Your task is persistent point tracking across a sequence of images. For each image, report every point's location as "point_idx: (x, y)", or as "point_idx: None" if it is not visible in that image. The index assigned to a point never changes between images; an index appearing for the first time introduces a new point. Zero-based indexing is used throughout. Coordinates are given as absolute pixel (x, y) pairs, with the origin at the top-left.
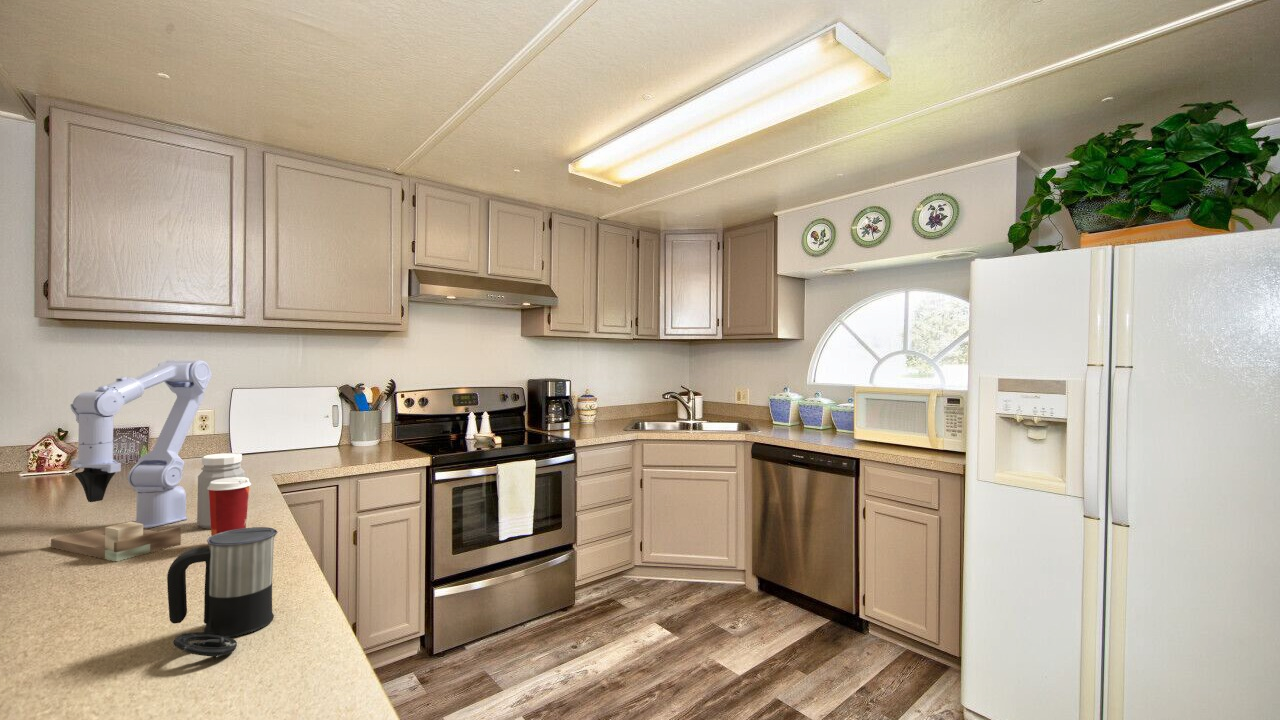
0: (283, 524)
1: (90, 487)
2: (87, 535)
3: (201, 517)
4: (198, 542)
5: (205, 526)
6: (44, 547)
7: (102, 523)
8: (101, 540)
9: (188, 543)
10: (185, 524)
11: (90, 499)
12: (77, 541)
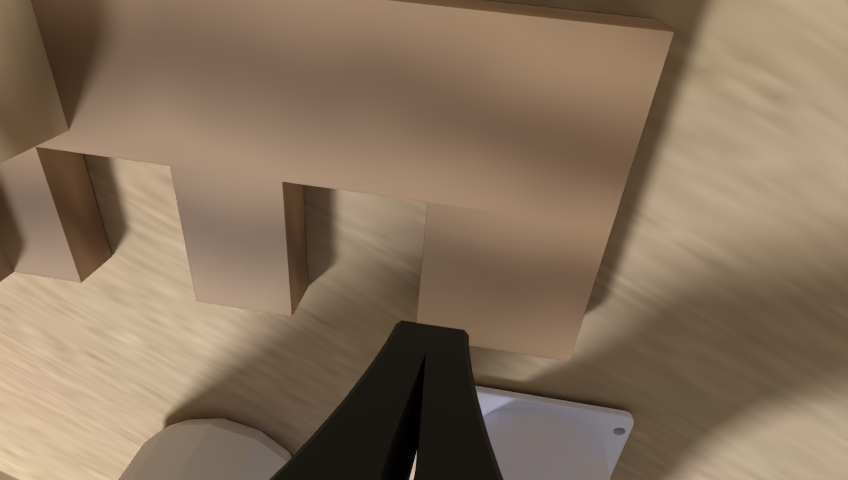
0: (25, 476)
1: (293, 461)
2: (484, 162)
3: (190, 457)
4: None
5: (200, 422)
6: (721, 12)
7: (839, 428)
8: (257, 104)
9: None
10: None
11: (394, 337)
12: (388, 43)
